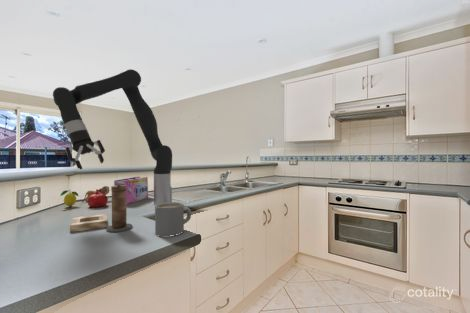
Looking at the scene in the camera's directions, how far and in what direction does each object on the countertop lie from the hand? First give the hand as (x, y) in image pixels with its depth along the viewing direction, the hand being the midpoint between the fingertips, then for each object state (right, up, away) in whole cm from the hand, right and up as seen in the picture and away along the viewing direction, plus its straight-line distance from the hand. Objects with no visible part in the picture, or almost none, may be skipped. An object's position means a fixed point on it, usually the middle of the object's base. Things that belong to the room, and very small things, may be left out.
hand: (92, 165), depth 107 cm
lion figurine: (-20, -23, +37) cm, 48 cm away
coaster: (+20, -23, -16) cm, 34 cm away
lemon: (-25, -23, +22) cm, 41 cm away
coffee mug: (+42, -24, -20) cm, 52 cm away
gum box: (+1, -23, +40) cm, 46 cm away
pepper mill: (+20, -23, -16) cm, 34 cm away
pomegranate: (-11, -23, +24) cm, 35 cm away
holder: (+6, -23, -12) cm, 27 cm away
